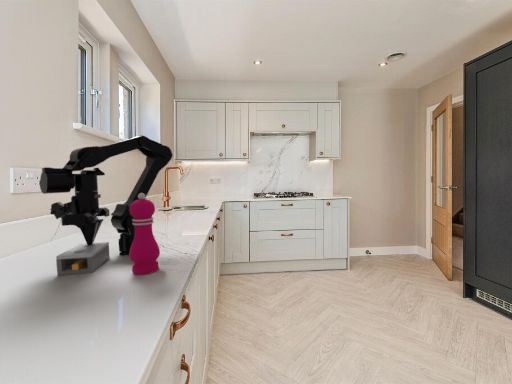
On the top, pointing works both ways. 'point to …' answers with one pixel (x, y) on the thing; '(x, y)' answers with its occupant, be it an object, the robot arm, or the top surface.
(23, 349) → the top surface
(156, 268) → the pepper mill
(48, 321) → the top surface
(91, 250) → the lid
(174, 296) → the top surface
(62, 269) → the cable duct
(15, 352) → the top surface
